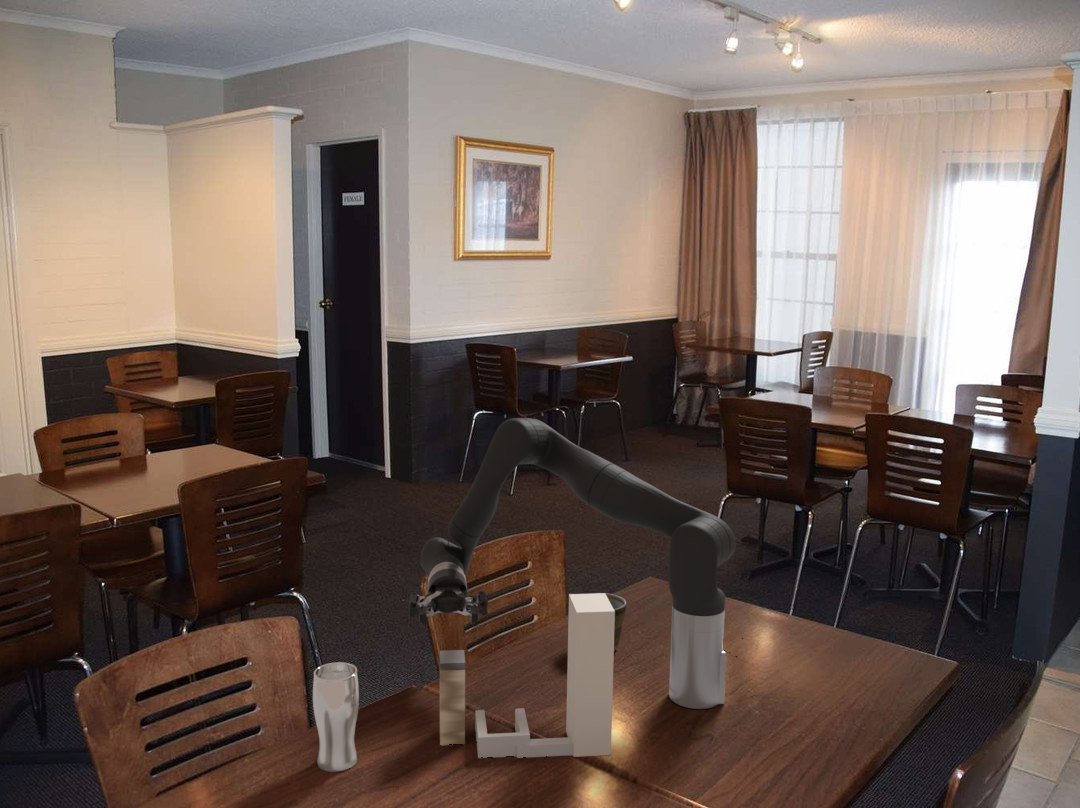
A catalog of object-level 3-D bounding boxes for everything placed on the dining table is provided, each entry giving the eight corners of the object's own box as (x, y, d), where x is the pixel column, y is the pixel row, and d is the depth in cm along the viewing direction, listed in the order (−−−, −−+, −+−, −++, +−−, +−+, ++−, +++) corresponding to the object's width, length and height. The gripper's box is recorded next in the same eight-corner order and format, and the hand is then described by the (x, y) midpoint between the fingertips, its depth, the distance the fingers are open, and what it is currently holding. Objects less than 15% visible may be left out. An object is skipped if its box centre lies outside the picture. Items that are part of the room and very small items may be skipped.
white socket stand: (599, 724, 158) (602, 589, 154) (610, 754, 148) (614, 611, 144) (475, 730, 155) (475, 592, 152) (478, 761, 145) (479, 615, 142)
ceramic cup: (593, 634, 196) (594, 589, 194) (634, 646, 190) (635, 599, 189) (558, 655, 186) (558, 607, 184) (600, 668, 180) (601, 618, 178)
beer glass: (349, 776, 141) (347, 683, 138) (306, 770, 142) (304, 678, 140) (366, 753, 147) (365, 663, 145) (325, 748, 149) (324, 659, 147)
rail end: (463, 729, 156) (464, 649, 153) (464, 744, 151) (465, 662, 149) (439, 730, 155) (439, 650, 153) (440, 745, 150) (440, 663, 148)
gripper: (410, 568, 177) (408, 599, 161) (484, 567, 179) (490, 598, 163) (409, 605, 178) (408, 640, 162) (484, 604, 180) (489, 639, 164)
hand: (449, 619), depth 163 cm, fingers open, 8 cm apart
